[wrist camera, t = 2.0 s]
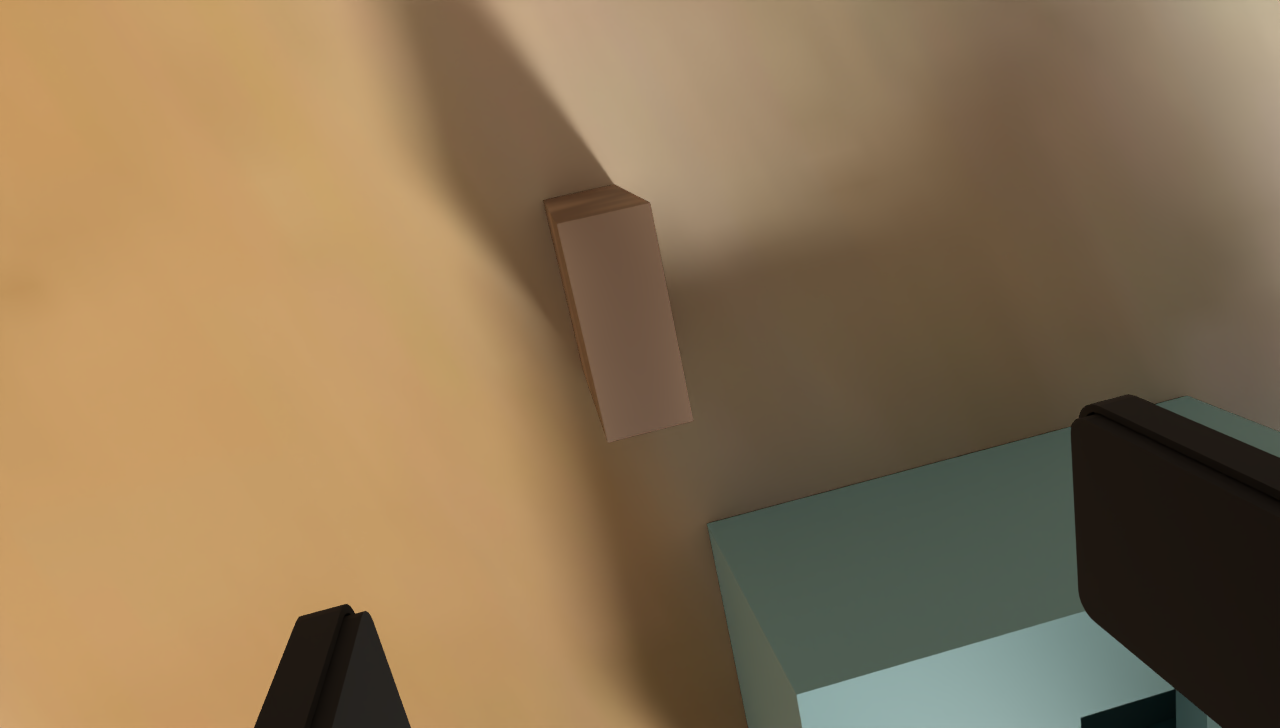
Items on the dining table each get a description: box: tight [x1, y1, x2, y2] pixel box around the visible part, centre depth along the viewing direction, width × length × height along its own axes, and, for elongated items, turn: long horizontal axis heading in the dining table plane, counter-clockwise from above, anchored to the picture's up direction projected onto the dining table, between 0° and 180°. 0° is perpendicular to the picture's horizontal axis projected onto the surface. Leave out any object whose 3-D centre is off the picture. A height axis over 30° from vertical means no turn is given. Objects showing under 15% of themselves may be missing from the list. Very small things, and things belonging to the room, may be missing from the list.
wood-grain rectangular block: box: [543, 184, 693, 443], centre depth 25 cm, size 2×6×7 cm, turn 12°
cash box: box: [707, 396, 1280, 728], centre depth 30 cm, size 20×16×10 cm
